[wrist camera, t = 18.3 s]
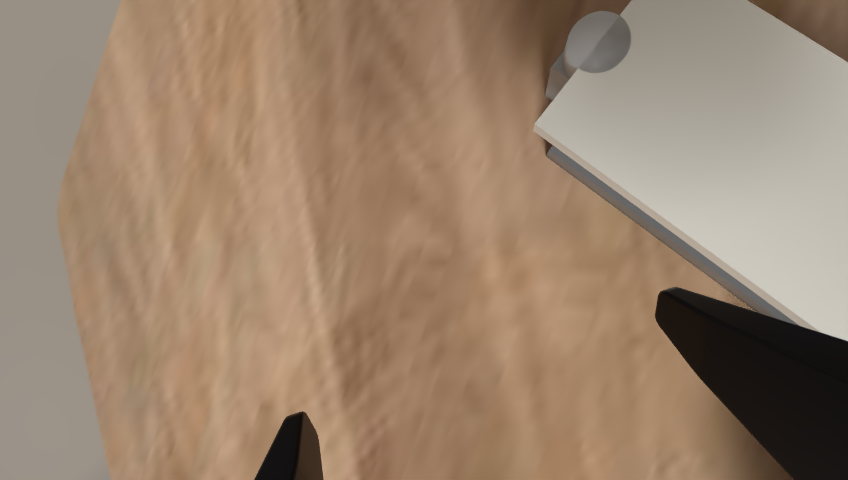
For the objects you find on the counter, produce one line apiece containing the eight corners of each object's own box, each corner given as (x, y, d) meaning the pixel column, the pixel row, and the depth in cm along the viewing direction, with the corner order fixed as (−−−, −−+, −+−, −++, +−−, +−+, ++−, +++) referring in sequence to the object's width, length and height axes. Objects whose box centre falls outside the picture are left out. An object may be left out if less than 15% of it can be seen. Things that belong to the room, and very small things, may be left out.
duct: (1000, 278, 19) (1159, 302, 14) (865, 391, 20) (968, 446, 15) (605, 17, 22) (628, -35, 17) (515, 133, 23) (514, 115, 19)
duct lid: (1142, 282, 14) (1220, 292, 12) (946, 433, 15) (993, 458, 14) (631, -40, 17) (642, -65, 15) (512, 115, 18) (512, 107, 17)
